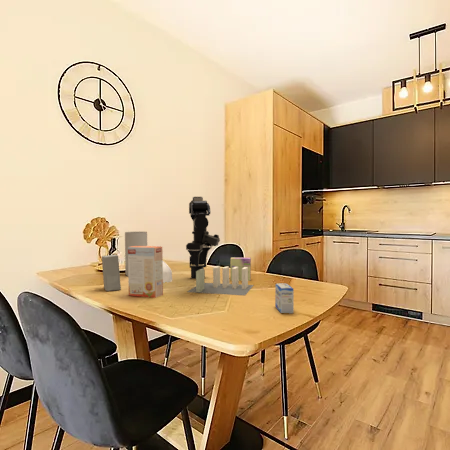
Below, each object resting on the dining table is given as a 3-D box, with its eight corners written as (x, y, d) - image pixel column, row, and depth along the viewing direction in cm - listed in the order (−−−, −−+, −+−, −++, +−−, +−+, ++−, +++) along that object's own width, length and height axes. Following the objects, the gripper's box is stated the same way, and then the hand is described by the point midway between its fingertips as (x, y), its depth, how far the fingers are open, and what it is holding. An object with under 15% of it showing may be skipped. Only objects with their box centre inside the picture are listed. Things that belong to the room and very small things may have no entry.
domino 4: (232, 288, 138) (231, 268, 138) (235, 285, 144) (235, 266, 144) (235, 288, 138) (235, 268, 137) (238, 285, 143) (238, 266, 143)
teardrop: (153, 284, 152) (153, 260, 152) (149, 280, 162) (149, 257, 162) (175, 281, 157) (174, 258, 156) (169, 278, 167) (169, 256, 167)
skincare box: (121, 290, 139) (120, 255, 139) (104, 292, 136) (103, 256, 135) (117, 286, 147) (117, 253, 146) (101, 288, 143) (101, 254, 143)
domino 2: (213, 287, 140) (213, 267, 140) (217, 284, 146) (216, 266, 146) (216, 287, 140) (216, 268, 140) (220, 284, 146) (220, 266, 146)
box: (250, 279, 161) (250, 257, 160) (250, 281, 155) (250, 258, 155) (231, 279, 162) (231, 257, 162) (230, 281, 156) (230, 258, 156)
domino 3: (222, 287, 139) (222, 268, 139) (226, 285, 145) (225, 266, 145) (226, 288, 139) (225, 268, 139) (229, 285, 144) (229, 266, 144)
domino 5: (241, 288, 137) (241, 268, 137) (244, 286, 143) (244, 266, 142) (245, 289, 136) (245, 269, 136) (248, 286, 142) (247, 267, 142)
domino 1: (196, 291, 132) (196, 271, 132) (201, 288, 138) (200, 269, 138) (199, 292, 132) (199, 271, 131) (204, 289, 137) (204, 269, 137)
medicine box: (275, 307, 110) (274, 283, 110) (287, 306, 110) (287, 282, 110) (280, 314, 102) (280, 288, 102) (294, 313, 102) (293, 287, 102)
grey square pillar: (144, 276, 172) (143, 232, 171) (122, 276, 172) (121, 232, 172) (150, 272, 184) (149, 231, 184) (129, 272, 185) (128, 231, 184)
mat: (186, 293, 132) (186, 291, 132) (202, 283, 151) (202, 282, 151) (245, 296, 125) (245, 295, 125) (253, 286, 144) (253, 285, 144)
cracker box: (163, 295, 128) (163, 246, 128) (154, 299, 123) (154, 247, 122) (137, 292, 134) (137, 245, 134) (128, 295, 129) (127, 246, 128)
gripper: (211, 229, 123) (211, 268, 123) (223, 228, 141) (223, 262, 141) (185, 229, 126) (185, 267, 126) (200, 228, 144) (201, 261, 144)
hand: (200, 264), depth 134 cm, fingers open, 9 cm apart
